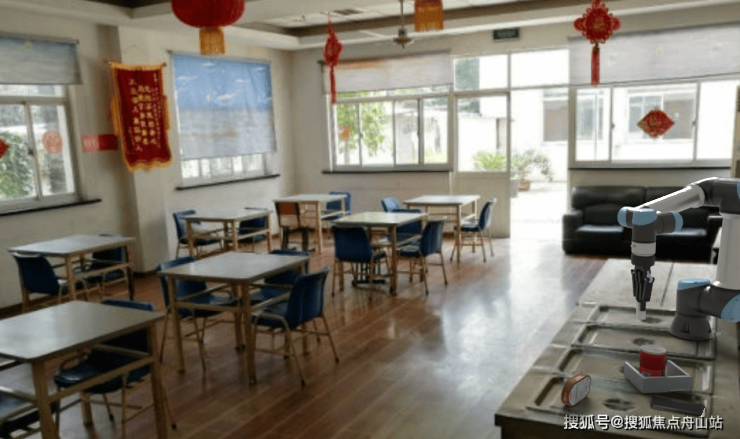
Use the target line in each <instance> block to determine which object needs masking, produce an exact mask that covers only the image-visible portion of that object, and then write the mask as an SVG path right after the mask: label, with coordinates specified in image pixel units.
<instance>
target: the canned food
mask: <svg viewBox="0 0 740 439" xmlns="http://www.w3.org/2000/svg"><path fill="white" fill-rule="evenodd" d="M639 348H640V349H639V364H638V365H639V366H638V368H639V369H638V372H639V373H641V374H642V375H643V376H644V377H660V376H666V370H667V349H666V348H665V347H663V346H660V345H657V344H642V345H641V346H640V347H639Z"/></svg>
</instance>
